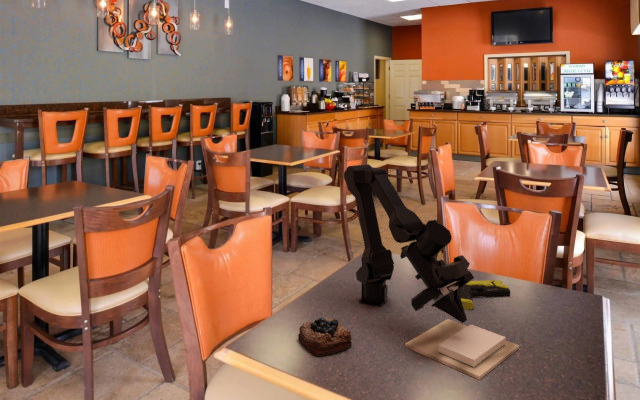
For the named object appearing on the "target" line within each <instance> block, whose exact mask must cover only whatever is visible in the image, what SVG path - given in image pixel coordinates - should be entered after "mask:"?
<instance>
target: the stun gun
mask: <svg viewBox="0 0 640 400" xmlns="http://www.w3.org/2000/svg"><path fill="white" fill-rule="evenodd" d="M510 296H511V290H510V287H509V286H508V285H506V284H503V281H502V280H499V279H497V280H495V279H494V280H493V279H489V280H485V279H484V280H471V281H470V282H468V283H467V284H465V285H464V286H463V289H462V291H461V301H462V305H463V308H464V310H470V311H471V310H473V309H474V300H473V298H478V297H479V298H482V297H484V298H496V297H497V298H498V297H499V298H500V297H501V298H502V297H504V298H506V297H510Z"/></svg>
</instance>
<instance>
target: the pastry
mask: <svg viewBox="0 0 640 400" xmlns="http://www.w3.org/2000/svg"><path fill="white" fill-rule="evenodd" d="M297 338H298V341H299V342H300V343H301V345H302V346H303V347H304V348H305V349H306V350H307V351H309V353H311V356H313V357H314V356H315V357H316V358H317V357H326V356H330V355H334V354H337V353H340V352H342V351H343V352H344V351H346V350H347V349H350V348H352V335H351V330H348V329H347V328H345V326H343V325H342V324H340V323H339V320H338V319H336V318H328V317H319V318H316V319H315V320H314V321H310V322H307V321H306V322H305V323H302V324H301V326H299V333H298V335H297Z"/></svg>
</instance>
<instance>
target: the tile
mask: <svg viewBox="0 0 640 400" xmlns="http://www.w3.org/2000/svg"><path fill="white" fill-rule="evenodd" d="M466 326H467V327H466V328H464V329H463V330H461V331H459V332H458V333H456V334H455V335H453V336H451V337H450V338H448V339H447V340H445V341H443V342H442V343H440V344H439V345H438V352H439V353H441V354H444V355H446V356H448V357H451V358H453V359H455V360H457V361H460V362H462V363H464V364H467V365H469V366H471V367H475V366H477V365H478V364H479V363H481V362H482V361H483V360H485V359H486V358H487V357H489V356H490V355H492V354H493V353H494V352H496V351H497V350H498V349H500V348H501V347H502V346H504V344H505V342H506V341H507V340H506V338H507V337H506V336H504V335H501V334H499V333H495V332H493V331H490V330H487V329H484V328H482V327H479V326H476V325H473V324H469V325H466Z"/></svg>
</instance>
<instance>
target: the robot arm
mask: <svg viewBox="0 0 640 400" xmlns="http://www.w3.org/2000/svg"><path fill="white" fill-rule="evenodd" d="M343 172H344V173H343V180H344V181H345V185H346V188H347V190H348V191H349V192H350V194H351V195H352V196H353V197H354V198H355V204H356V208H357V213H358V214H357V215H358V218H359V220H358V221H359V225H360V229H361V235H362V239H363V240H362V241H363V245H364V250H363V252H362V256H361V259H360V261H361V266H360V267H358V269H357V271H356V272H355V275H356V280H357V281H358V282H360V283H361V287H360V288H361V292H360V293H361V298H360V299H359V300H358V301H359V303H362V304H367V305H372V306H378V307H381V306H382V305H383V304H384V303H385V302H386V301H387V300H388V298H389V297H388V293H389V291H388V287H389V286H388V285H387V281H391V280H392V275H393V273H394V270H395V262H394V260H393V259H394V258H393V253H392V250H391V249H387V248H386V247H385V246H384V244H383V241H382V236H381V231H380V227H379V226H380V225H379V220H378V216H377V211H376V206H375V201H374V196H373V194H374V193H375V196H376V197H377V198H378V200H379V203H380V204H381V207H383V210H384V212H385V213H386V215H387V217H388V229H389V231H390V233H391V237H392V238H393V240H394V241H395V242H396V243H399V244H404V243H409V244H407V245H405V246H402V247H401V248H400V250H401V252H400V259H405V258H407V260H408V261H409V262H410V264H411V266H412V268H413V269H414V271H416V273H417V274H416V275H415V278H416V281H418V280H422V282H423V284H424V285H425V287H426V288H425V289H422V290H421V291H420V292H419V293H418V294H416V295H415V296H413V297H412V298H411V301H410V303H411V307H412V308H413V309H414V311H415V312H418V311H420V310H421V309H423V308H424V307H425V305H427V304H428V303H430V302H431V301H433V303H432V304H431V305H430V306H431V307H432V308H433V307H435V308H437V309H439V310H440V311H442V312H444V313H445V314H448V315H449V316H450V317H452V318H453V319H456V321H457V322H459V323H461V324H464V323H465V322H466V321H467V320H468V319H467V315H466V312H465V309H464V308H463V305H462V301H461V291H462V289H463V286H464V285H465V284H467V283H468V282H470V281H473V279H475V276H474V275H473V273H472V272H471V271H470V270H469V269H468V268H469V267H470V262H469V261H468V260H467V258H466V257H465V256H464V255H462V254H461V255H458V256H456V257H453V261H452V262H450V263H446V262H445V261H444V260H442V259H439V260H438V258H437V257H436V256H437V255H438V254H439V253H440V252H442V250H443V249H445V248H446V247H447V246H448V245H449V244H450V243H451V241H452V237H453V236H452V233H451V231H450V230H449V229H447V227H446V226H445V225H443V224H441V223H438V221H437V219H431V220H428V221H427V222H426V223H424V222H423V221H422V219H420V217H419V216H418V215H417V213H416V212H415V211H413V210H411V209H409V208H407V206H406V205H405V204H404V202H403V200H402V198H401V197H400V195H399V193H398V192H397V191H396V189H395V187H394V185H393V184H392V182H391V180H390V179H389V177H388V172H387V170H386V169H385V168H382V167H373V166H372V165H370V164H367V163H364V164H356V165H348V166H347V167H346V169H345V171H343Z"/></svg>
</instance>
